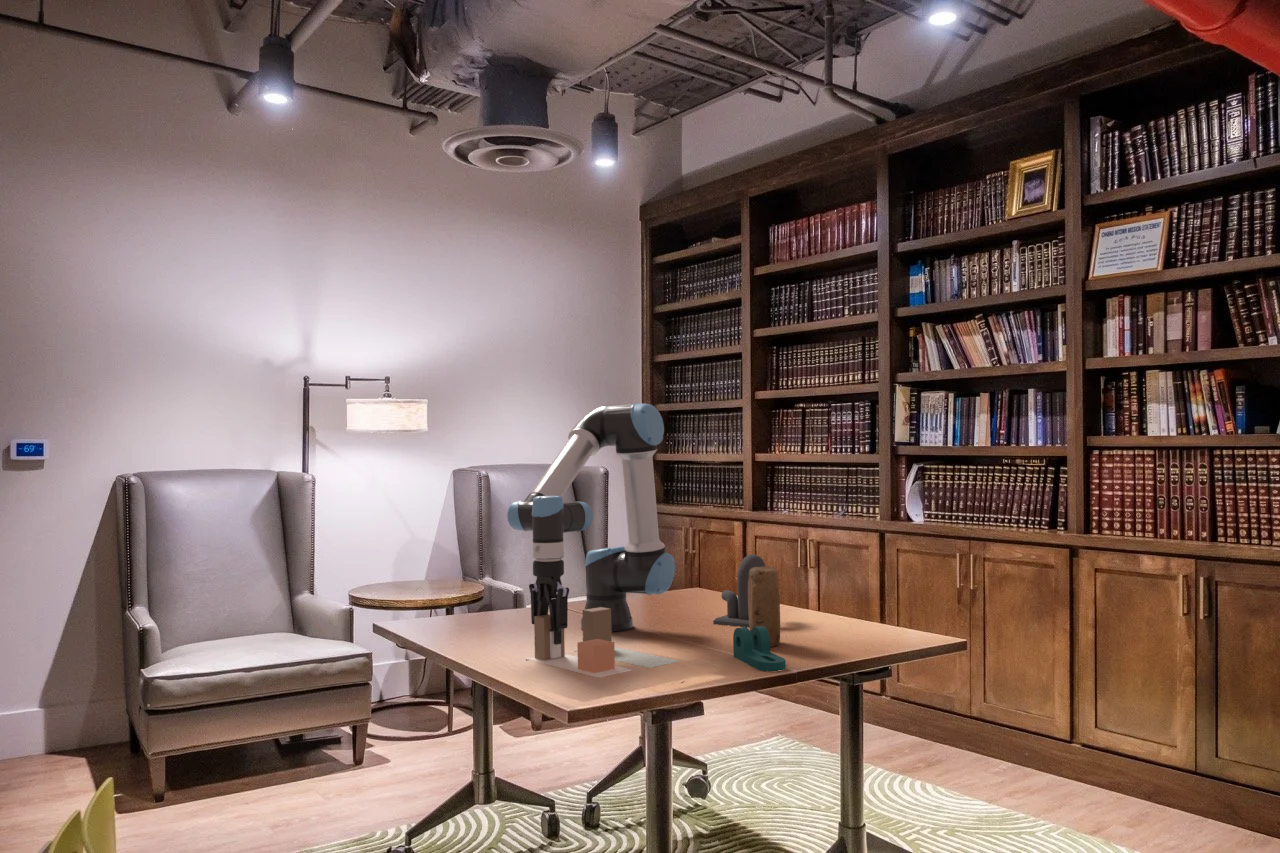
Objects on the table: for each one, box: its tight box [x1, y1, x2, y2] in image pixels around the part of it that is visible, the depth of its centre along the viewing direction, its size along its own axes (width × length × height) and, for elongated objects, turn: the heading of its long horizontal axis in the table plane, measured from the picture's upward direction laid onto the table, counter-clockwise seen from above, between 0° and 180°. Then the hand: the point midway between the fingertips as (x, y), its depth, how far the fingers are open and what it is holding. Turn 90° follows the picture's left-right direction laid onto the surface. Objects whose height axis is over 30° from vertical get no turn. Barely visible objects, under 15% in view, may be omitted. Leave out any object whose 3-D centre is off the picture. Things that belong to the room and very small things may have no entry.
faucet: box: [712, 553, 767, 628], centre depth 285 cm, size 18×16×20 cm
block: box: [748, 566, 781, 648], centre depth 252 cm, size 11×8×20 cm
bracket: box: [732, 626, 787, 672], centre depth 229 cm, size 18×7×8 cm, turn 17°
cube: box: [576, 639, 616, 673], centre depth 220 cm, size 6×6×6 cm
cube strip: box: [525, 613, 633, 678], centre depth 225 cm, size 28×10×11 cm, turn 41°
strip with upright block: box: [573, 607, 681, 669], centre depth 234 cm, size 28×10×11 cm, turn 41°
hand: (549, 656), depth 233 cm, fingers closed on cube strip, 4 cm apart
